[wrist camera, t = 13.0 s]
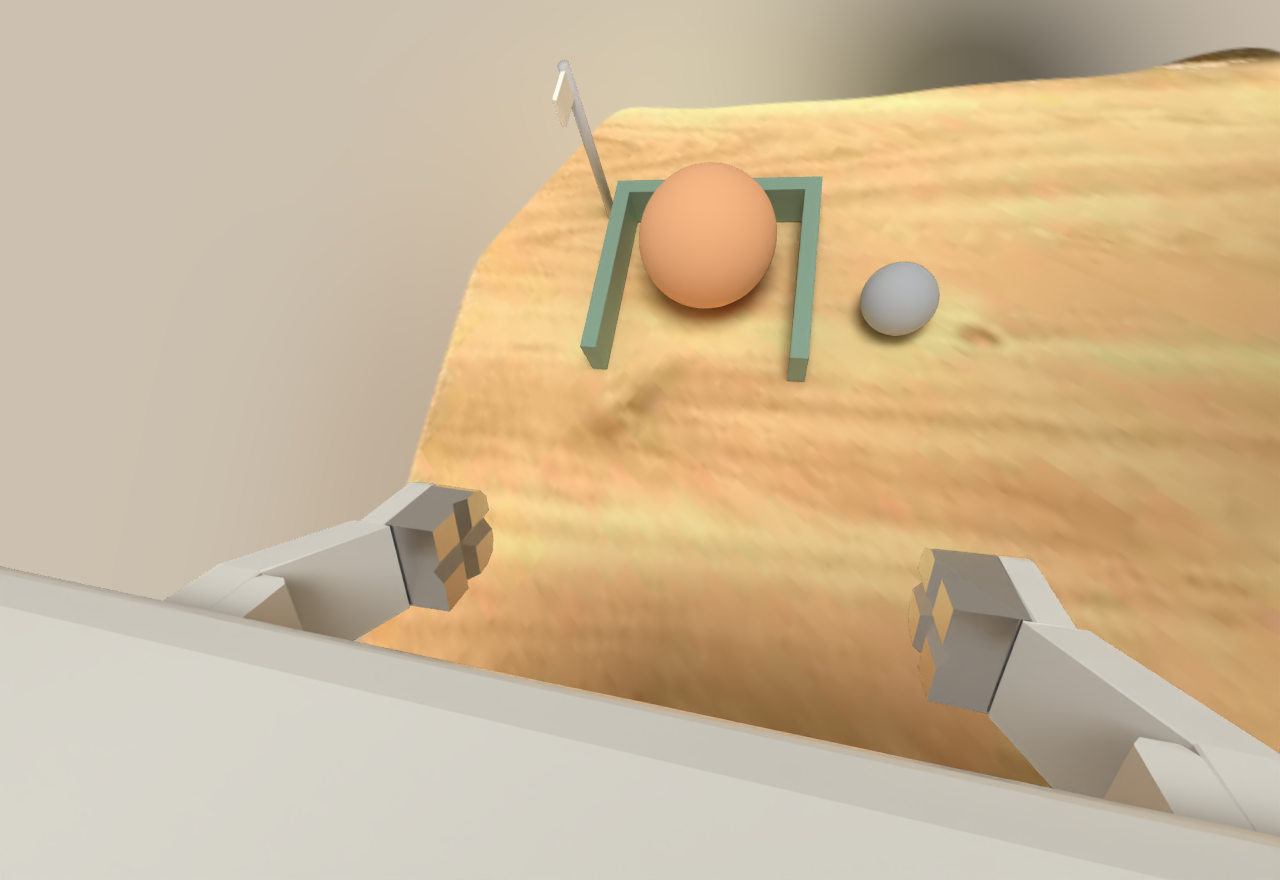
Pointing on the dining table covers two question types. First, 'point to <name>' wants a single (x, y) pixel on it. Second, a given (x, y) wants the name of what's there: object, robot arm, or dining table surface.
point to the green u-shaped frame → (786, 194)
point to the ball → (707, 235)
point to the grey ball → (899, 298)
